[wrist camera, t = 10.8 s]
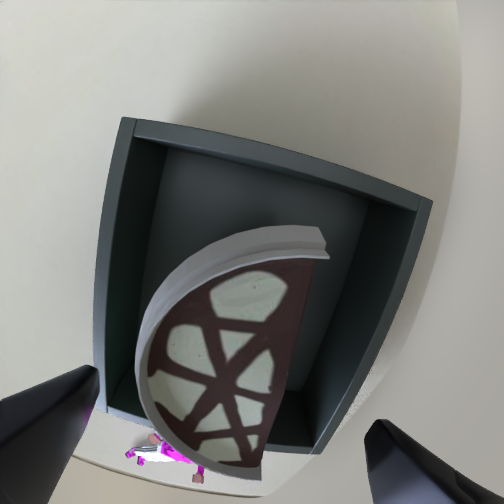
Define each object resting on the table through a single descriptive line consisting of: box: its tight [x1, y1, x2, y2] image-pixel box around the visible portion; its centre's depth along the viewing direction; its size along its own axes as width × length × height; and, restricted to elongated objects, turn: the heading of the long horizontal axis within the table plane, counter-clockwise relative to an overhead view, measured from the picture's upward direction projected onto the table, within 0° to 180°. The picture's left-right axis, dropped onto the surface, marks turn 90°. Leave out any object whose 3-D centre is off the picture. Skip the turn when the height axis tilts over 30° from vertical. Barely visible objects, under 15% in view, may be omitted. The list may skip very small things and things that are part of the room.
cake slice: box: [135, 225, 330, 481], centre depth 15 cm, size 12×6×10 cm, turn 171°
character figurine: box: [125, 431, 204, 484], centre depth 21 cm, size 6×5×12 cm
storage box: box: [93, 117, 433, 454], centre depth 17 cm, size 15×17×7 cm
